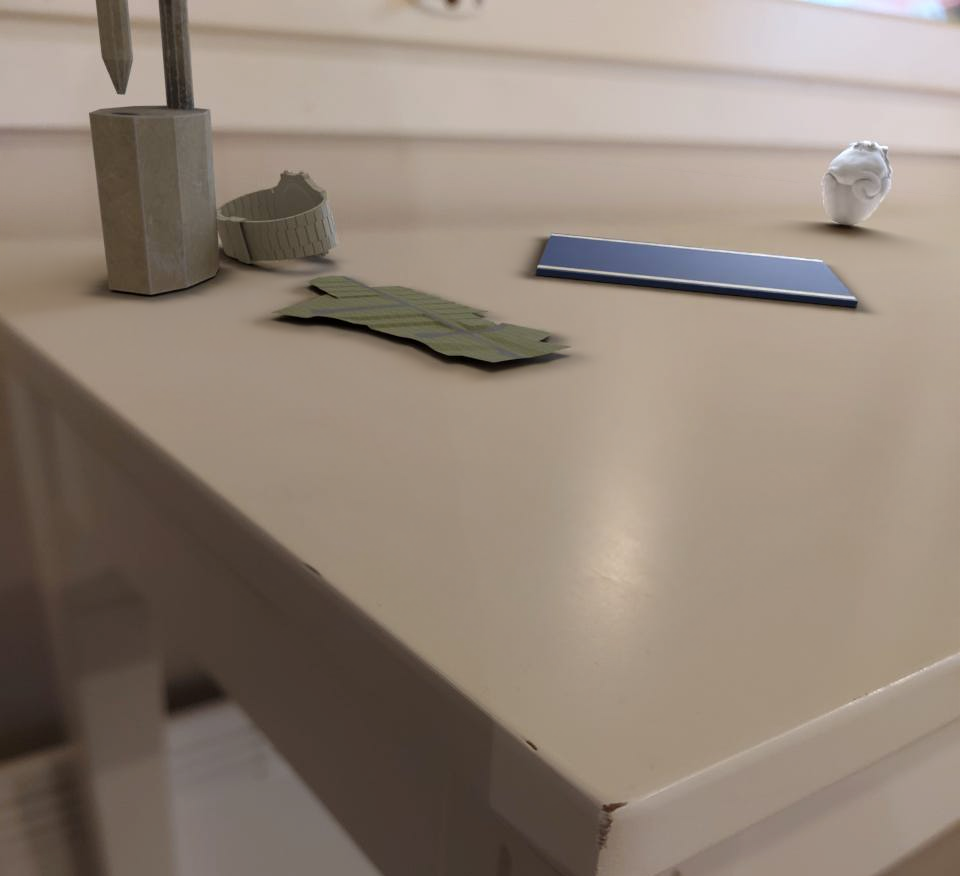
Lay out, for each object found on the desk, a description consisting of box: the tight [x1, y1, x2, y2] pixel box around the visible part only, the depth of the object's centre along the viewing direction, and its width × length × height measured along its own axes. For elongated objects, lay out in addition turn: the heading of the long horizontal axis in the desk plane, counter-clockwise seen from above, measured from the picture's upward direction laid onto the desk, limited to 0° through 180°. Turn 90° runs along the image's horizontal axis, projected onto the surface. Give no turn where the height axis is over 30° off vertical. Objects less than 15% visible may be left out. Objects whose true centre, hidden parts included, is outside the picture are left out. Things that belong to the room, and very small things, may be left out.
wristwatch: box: [216, 169, 340, 265], centre depth 61 cm, size 9×6×5 cm
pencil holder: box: [88, 0, 221, 295], centre depth 52 cm, size 4×8×15 cm, turn 167°
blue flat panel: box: [535, 232, 859, 308], centre depth 69 cm, size 20×14×1 cm
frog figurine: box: [820, 140, 894, 226], centre depth 91 cm, size 6×7×7 cm
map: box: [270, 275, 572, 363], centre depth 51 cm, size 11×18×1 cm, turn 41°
